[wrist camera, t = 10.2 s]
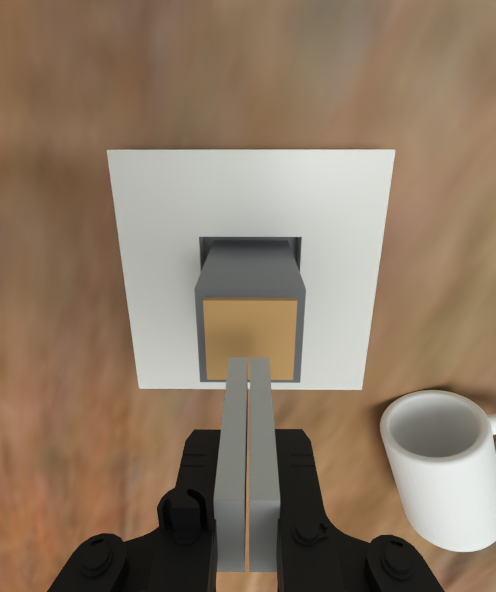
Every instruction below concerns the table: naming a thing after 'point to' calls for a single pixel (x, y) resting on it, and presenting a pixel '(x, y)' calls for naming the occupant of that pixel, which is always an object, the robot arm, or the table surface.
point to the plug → (250, 309)
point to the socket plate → (250, 226)
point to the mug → (444, 467)
